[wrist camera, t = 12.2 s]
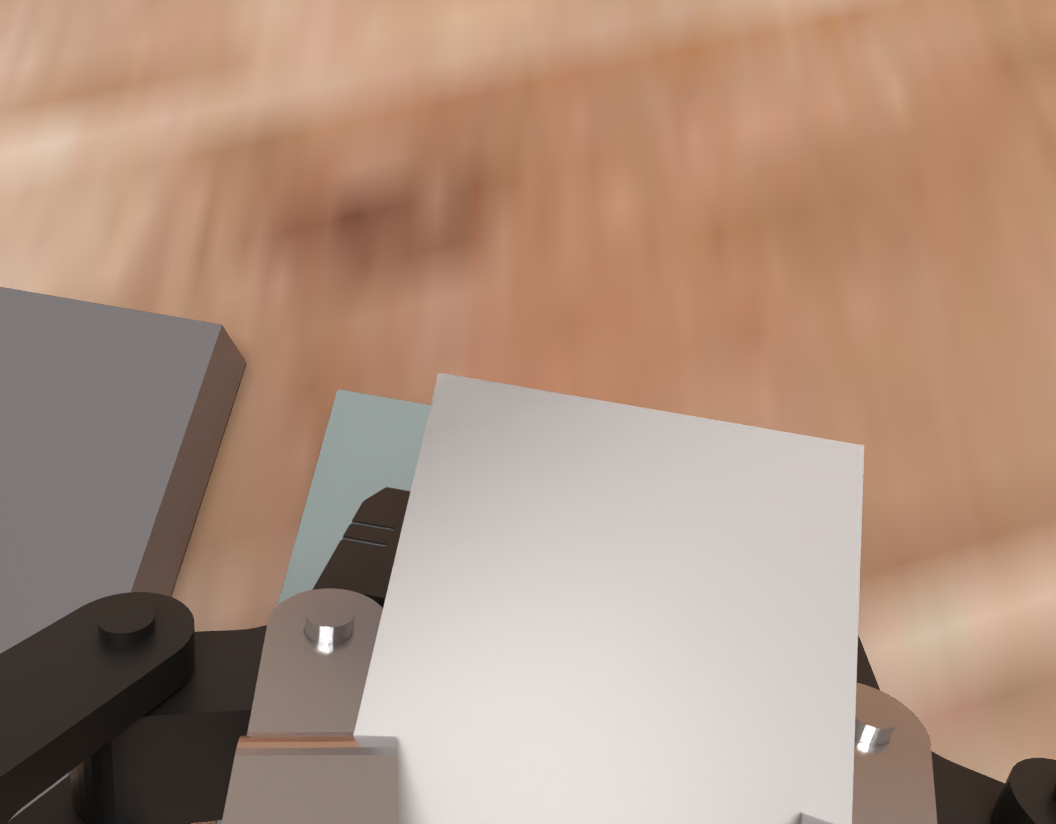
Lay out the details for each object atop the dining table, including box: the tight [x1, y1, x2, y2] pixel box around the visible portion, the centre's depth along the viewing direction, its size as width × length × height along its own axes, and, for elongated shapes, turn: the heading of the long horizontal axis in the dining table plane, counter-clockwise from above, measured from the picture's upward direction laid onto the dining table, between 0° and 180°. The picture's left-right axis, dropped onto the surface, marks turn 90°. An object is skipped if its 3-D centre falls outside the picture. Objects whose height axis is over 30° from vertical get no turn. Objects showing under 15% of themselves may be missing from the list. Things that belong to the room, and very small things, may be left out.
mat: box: [217, 389, 431, 824], centre depth 18 cm, size 12×12×1 cm
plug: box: [353, 373, 864, 824], centre depth 12 cm, size 6×6×10 cm
